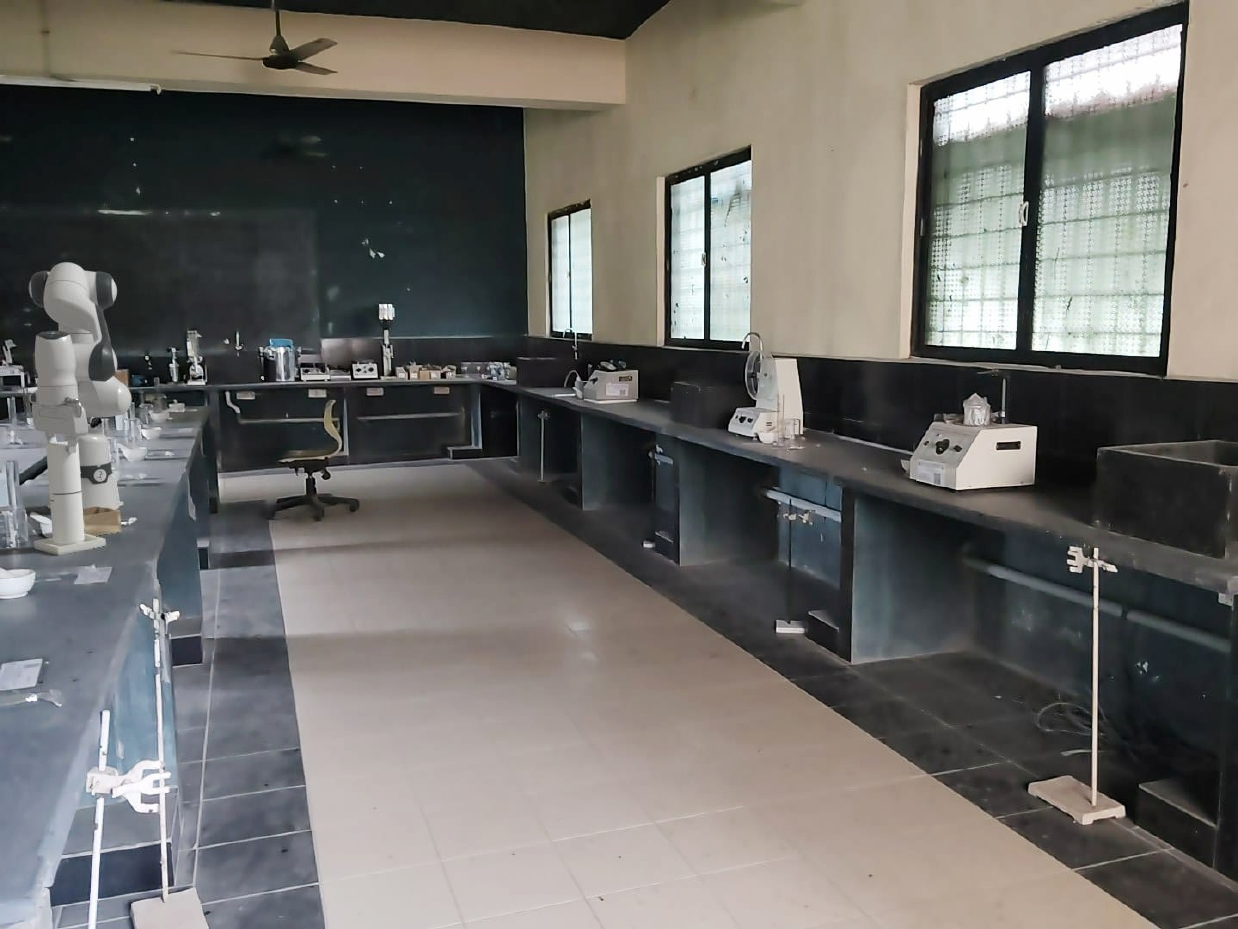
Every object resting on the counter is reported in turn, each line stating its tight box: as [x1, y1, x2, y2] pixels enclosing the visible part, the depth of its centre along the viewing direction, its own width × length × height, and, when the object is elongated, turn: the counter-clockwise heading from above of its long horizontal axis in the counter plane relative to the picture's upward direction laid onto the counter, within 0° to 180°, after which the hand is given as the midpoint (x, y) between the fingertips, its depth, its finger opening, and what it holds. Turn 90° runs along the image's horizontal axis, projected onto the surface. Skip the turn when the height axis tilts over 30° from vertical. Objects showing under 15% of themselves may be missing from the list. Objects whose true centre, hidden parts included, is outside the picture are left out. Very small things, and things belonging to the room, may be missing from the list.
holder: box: [83, 506, 123, 537], centre depth 276 cm, size 11×11×6 cm
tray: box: [33, 533, 107, 556], centre depth 260 cm, size 12×12×2 cm
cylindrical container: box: [45, 441, 85, 543], centre depth 258 cm, size 7×7×25 cm
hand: (62, 451), depth 256 cm, fingers closed on cylindrical container, 7 cm apart
